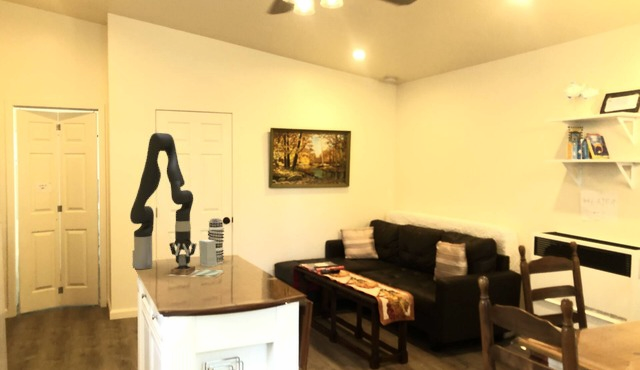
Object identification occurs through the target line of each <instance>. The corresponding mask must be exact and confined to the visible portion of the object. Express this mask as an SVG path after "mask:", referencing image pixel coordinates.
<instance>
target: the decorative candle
mask: <svg viewBox="0 0 640 370" xmlns="http://www.w3.org/2000/svg"><path fill="white" fill-rule="evenodd" d="M223 223H224V222H223V220H222V219H221V218H211V219H210V220H209V221H208V231H207V233H208V234H207V236H208V237H207V239H208V240H215V244H216V264H217V265H219V264H223V263H224V254H225V253H224V251H225V250H224V247H223V244H224V241H225V240H224V239H225V237H224V232H225V230H224V229H225V228H224V226H223Z"/></svg>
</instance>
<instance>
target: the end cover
mask: <svg viewBox="0 0 640 370" xmlns="http://www.w3.org/2000/svg"><path fill="white" fill-rule="evenodd" d="M186 257H187V255H186V253H180V254H179V255H178V263H177V264H178V265H177V266H178V269H188V266H189V265H188V264H189V263H188V264H186Z"/></svg>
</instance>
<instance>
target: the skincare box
mask: <svg viewBox="0 0 640 370" xmlns="http://www.w3.org/2000/svg"><path fill="white" fill-rule="evenodd" d="M198 246H199V266H201V267H204V268H213V267H217V265H218V264H216V244H215V240H209V239H208V238H207V239H201V240H198Z"/></svg>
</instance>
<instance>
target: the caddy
mask: <svg viewBox="0 0 640 370" xmlns="http://www.w3.org/2000/svg"><path fill="white" fill-rule="evenodd" d="M223 274H224V270H223V269H196V266H195V265H188V269H178V265H177V266H175V267H174V268H171V269H170V273H169V274H168V273H167V274H166V275H165V276H166V277H167V276H168V277H169V276H170V277H190V278H191V277H194V278H195V277H196V278H214V280H215V279H217V278H219V277H220V276H222V275H223Z"/></svg>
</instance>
